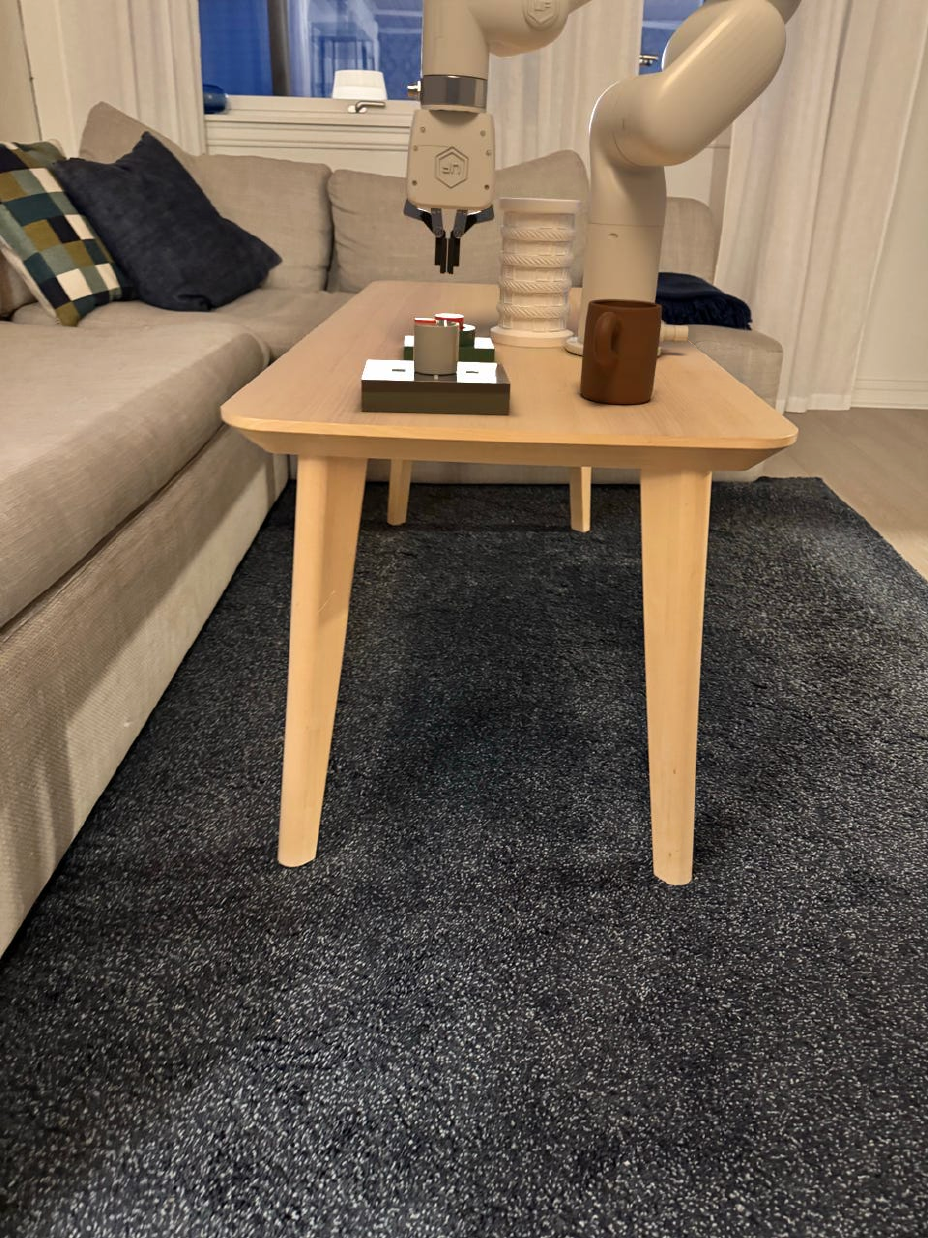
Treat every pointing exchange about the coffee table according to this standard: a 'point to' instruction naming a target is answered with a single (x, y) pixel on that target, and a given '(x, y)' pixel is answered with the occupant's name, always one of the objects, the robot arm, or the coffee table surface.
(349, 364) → the coffee table surface
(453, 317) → the power button
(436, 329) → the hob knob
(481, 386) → the hob
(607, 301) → the mug
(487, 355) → the power box
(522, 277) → the decorative container
